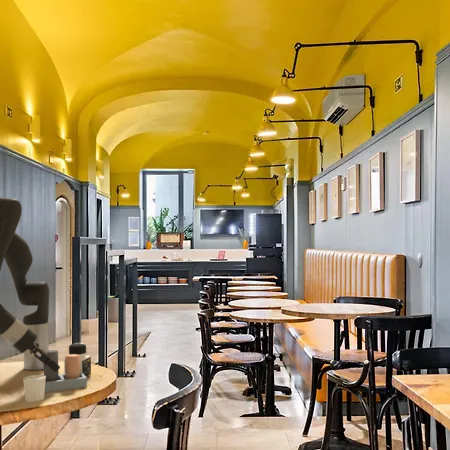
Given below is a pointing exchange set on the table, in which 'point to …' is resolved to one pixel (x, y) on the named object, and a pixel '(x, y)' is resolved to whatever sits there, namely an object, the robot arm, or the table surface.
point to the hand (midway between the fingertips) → (56, 367)
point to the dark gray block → (48, 372)
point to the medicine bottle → (81, 358)
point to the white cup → (34, 387)
